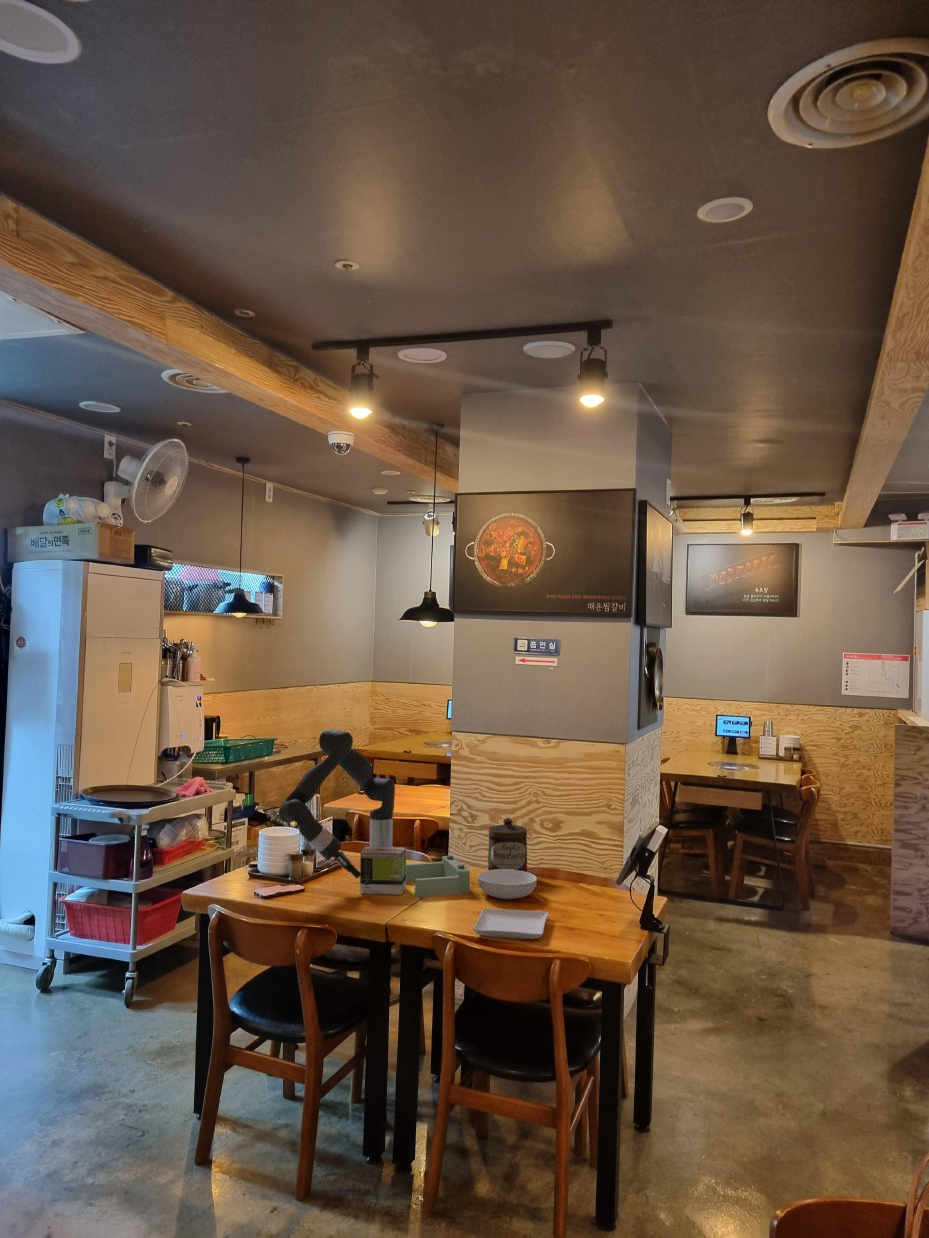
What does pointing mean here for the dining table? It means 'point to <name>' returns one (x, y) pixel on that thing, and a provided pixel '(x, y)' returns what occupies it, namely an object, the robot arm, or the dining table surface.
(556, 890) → the dining table surface
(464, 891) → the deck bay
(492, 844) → the wooden container
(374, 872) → the tea box
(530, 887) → the serving bowl
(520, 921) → the salad plate
